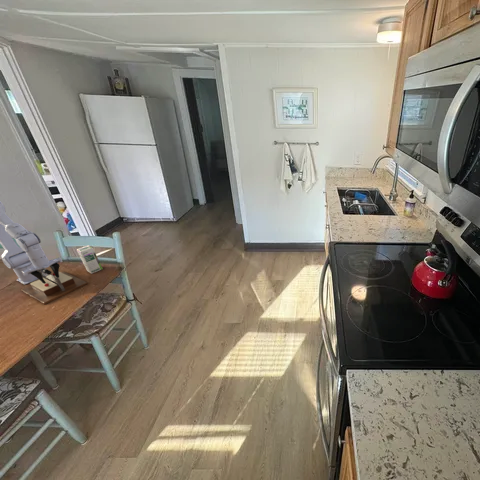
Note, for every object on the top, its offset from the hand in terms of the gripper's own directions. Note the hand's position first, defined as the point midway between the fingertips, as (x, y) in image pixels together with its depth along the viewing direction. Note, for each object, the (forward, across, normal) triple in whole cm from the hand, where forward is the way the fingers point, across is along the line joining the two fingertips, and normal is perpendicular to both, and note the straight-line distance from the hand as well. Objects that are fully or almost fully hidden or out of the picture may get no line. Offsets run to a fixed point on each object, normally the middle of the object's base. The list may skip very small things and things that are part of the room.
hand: (51, 279), depth 136 cm
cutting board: (+5, 0, 0) cm, 5 cm away
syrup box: (+5, +18, -1) cm, 19 cm away
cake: (+4, 0, 0) cm, 4 cm away
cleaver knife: (0, 0, 0) cm, 0 cm away
